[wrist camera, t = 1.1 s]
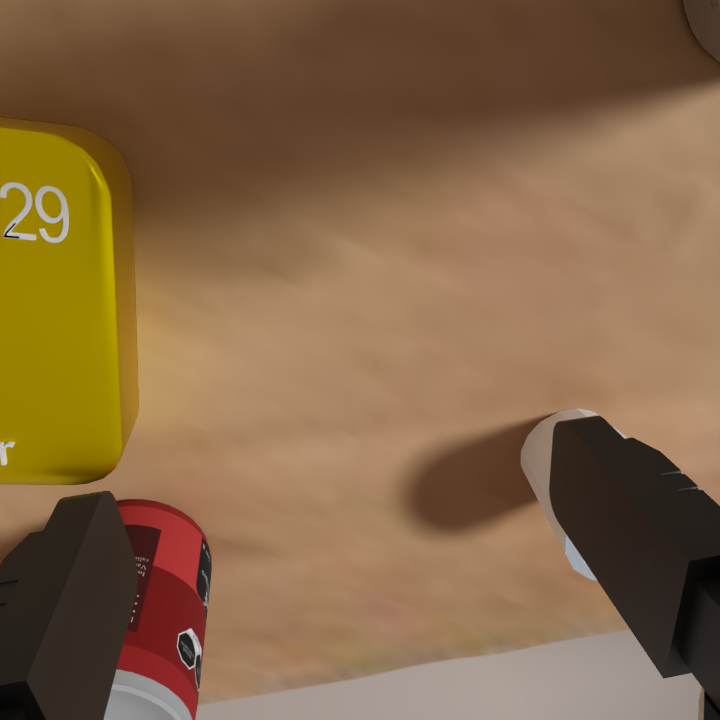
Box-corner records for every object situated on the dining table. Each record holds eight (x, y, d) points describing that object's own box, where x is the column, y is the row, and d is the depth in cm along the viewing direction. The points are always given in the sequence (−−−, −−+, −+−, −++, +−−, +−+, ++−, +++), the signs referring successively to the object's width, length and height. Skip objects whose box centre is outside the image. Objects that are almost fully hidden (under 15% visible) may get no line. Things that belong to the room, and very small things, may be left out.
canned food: (167, 619, 35) (128, 826, 25) (40, 566, 32) (-60, 777, 22) (241, 536, 33) (232, 724, 23) (114, 471, 30) (42, 655, 20)
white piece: (488, 477, 34) (538, 564, 28) (552, 382, 32) (622, 453, 26) (577, 509, 36) (642, 597, 30) (642, 421, 34) (728, 496, 28)
